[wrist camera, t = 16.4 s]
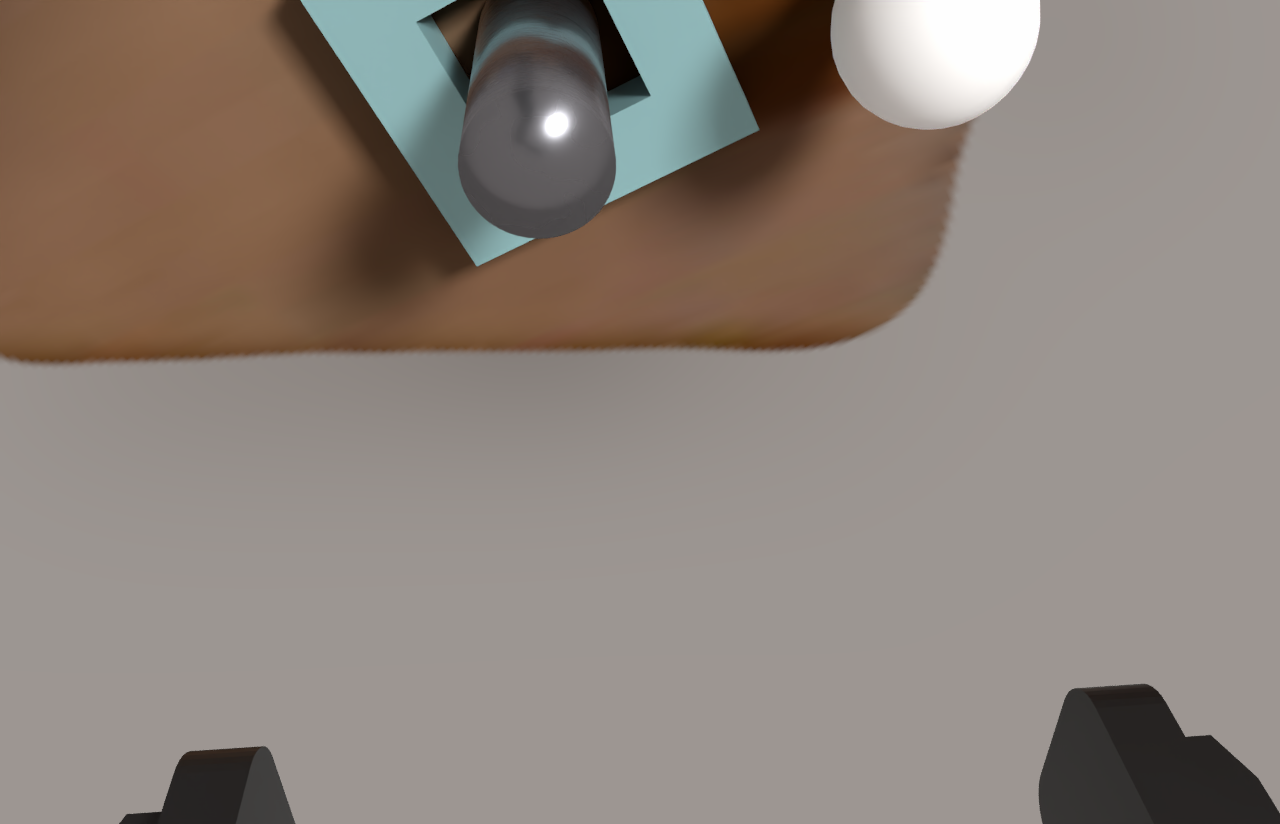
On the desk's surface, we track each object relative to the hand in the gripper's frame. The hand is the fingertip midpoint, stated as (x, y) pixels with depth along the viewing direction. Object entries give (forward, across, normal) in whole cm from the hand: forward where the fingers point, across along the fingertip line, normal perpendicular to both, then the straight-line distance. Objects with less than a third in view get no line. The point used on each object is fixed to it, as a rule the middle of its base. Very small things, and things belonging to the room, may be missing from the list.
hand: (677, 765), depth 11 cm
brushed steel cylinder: (+34, -2, -3) cm, 34 cm away
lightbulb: (+34, +10, -1) cm, 36 cm away
